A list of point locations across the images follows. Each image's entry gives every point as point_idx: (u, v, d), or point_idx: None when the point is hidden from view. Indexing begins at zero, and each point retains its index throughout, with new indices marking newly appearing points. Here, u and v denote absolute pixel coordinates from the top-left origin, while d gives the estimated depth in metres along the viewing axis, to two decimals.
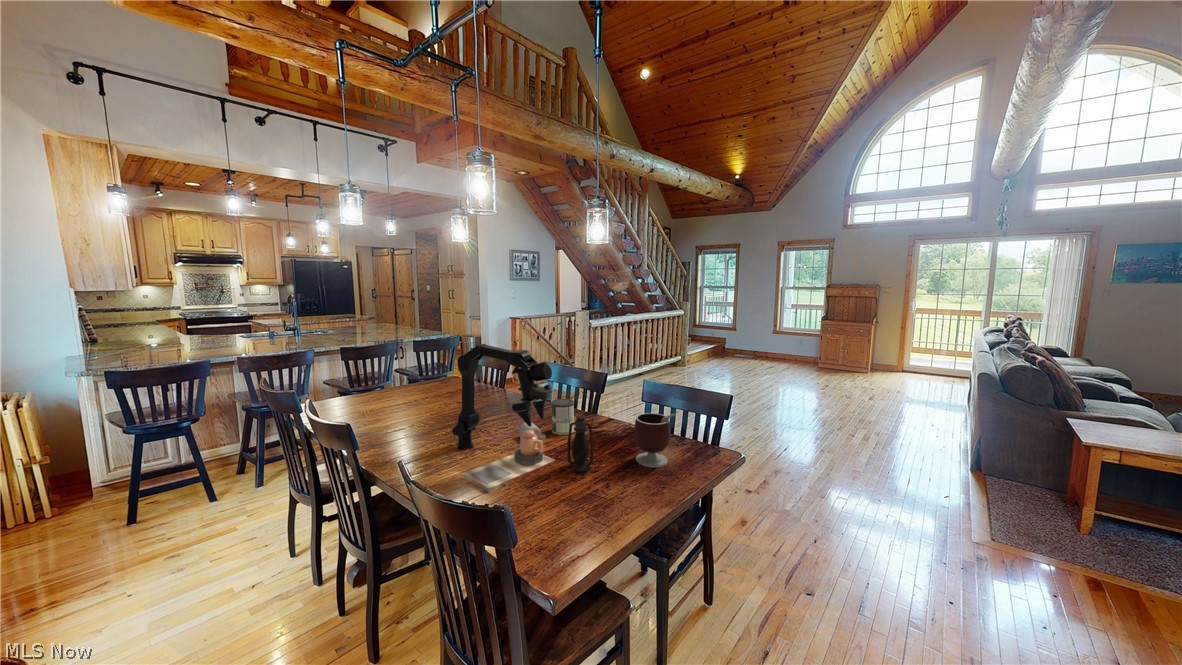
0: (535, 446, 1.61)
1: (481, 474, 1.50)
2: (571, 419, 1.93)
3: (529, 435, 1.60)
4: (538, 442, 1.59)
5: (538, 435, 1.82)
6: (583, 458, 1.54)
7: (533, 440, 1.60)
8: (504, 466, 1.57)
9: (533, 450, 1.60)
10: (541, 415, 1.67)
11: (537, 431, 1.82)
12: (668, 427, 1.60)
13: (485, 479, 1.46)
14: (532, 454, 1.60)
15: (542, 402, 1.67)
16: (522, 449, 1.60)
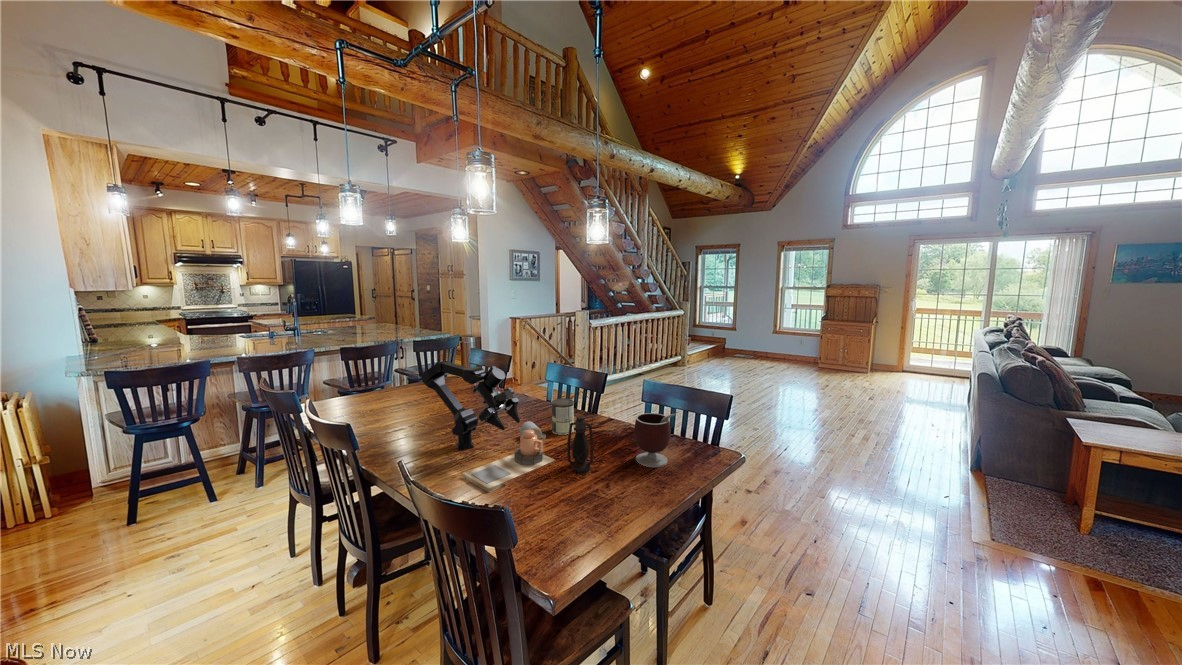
0: (535, 446, 1.61)
1: (481, 474, 1.50)
2: (571, 419, 1.93)
3: (529, 435, 1.60)
4: (538, 442, 1.59)
5: (539, 435, 1.82)
6: (583, 458, 1.54)
7: (533, 440, 1.60)
8: (504, 466, 1.57)
9: (533, 450, 1.60)
10: (517, 419, 1.69)
11: (538, 431, 1.82)
12: (668, 427, 1.60)
13: (485, 479, 1.46)
14: (532, 454, 1.60)
15: (513, 407, 1.70)
16: (522, 449, 1.60)
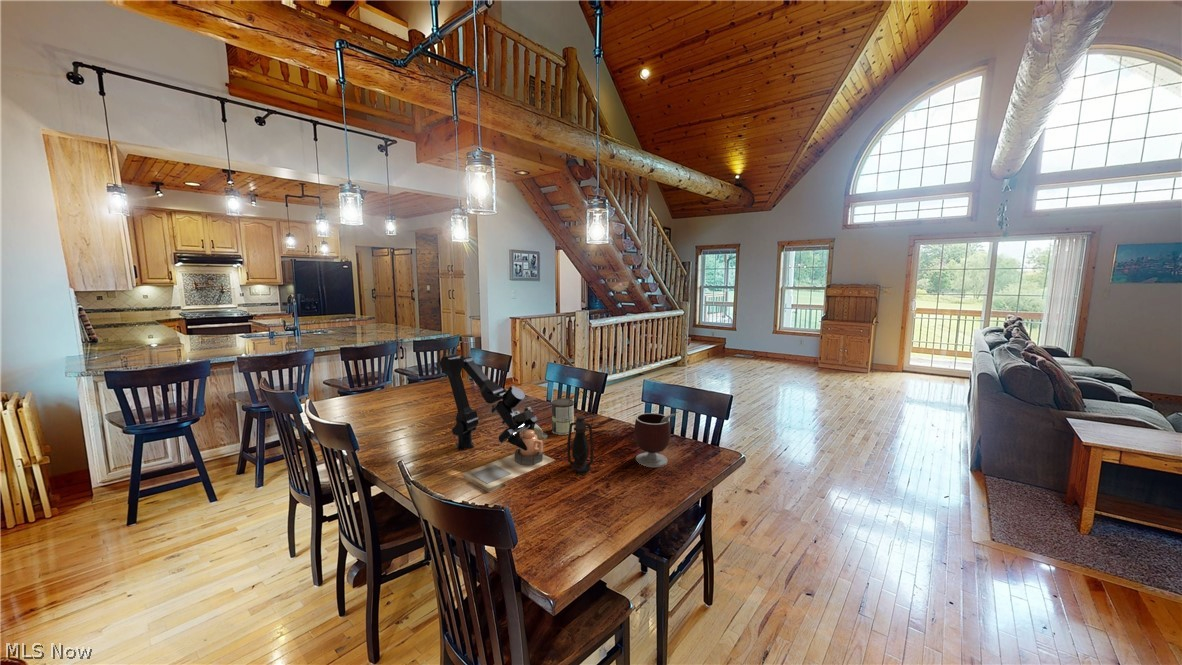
0: (535, 446, 1.61)
1: (481, 474, 1.50)
2: (571, 419, 1.93)
3: (529, 435, 1.60)
4: (538, 442, 1.59)
5: (540, 435, 1.83)
6: (583, 458, 1.54)
7: (533, 440, 1.60)
8: (504, 466, 1.57)
9: (533, 450, 1.60)
10: None
11: (539, 431, 1.82)
12: (668, 427, 1.60)
13: (485, 479, 1.46)
14: (532, 454, 1.60)
15: (530, 428, 1.66)
16: (522, 449, 1.60)
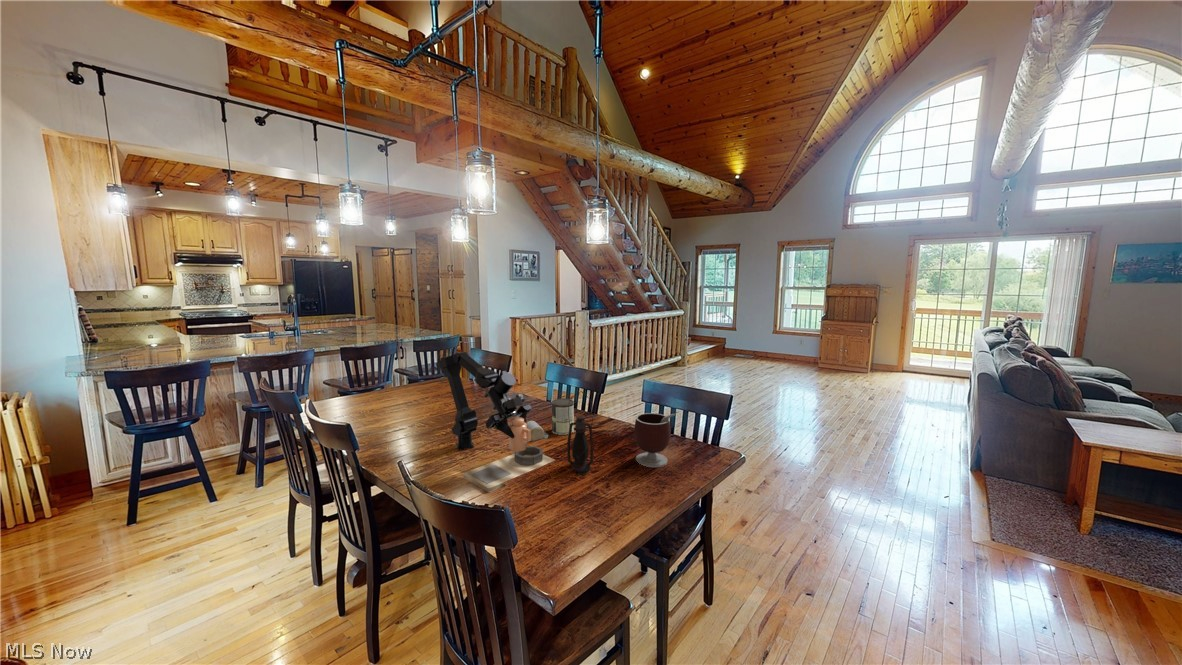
0: (523, 435, 1.55)
1: (481, 474, 1.50)
2: (571, 419, 1.93)
3: (517, 423, 1.54)
4: (526, 431, 1.53)
5: (541, 434, 1.83)
6: (583, 458, 1.54)
7: (521, 428, 1.54)
8: (504, 466, 1.57)
9: (521, 439, 1.54)
10: None
11: (540, 430, 1.82)
12: (668, 427, 1.60)
13: (485, 479, 1.46)
14: (520, 443, 1.54)
15: (521, 416, 1.60)
16: None
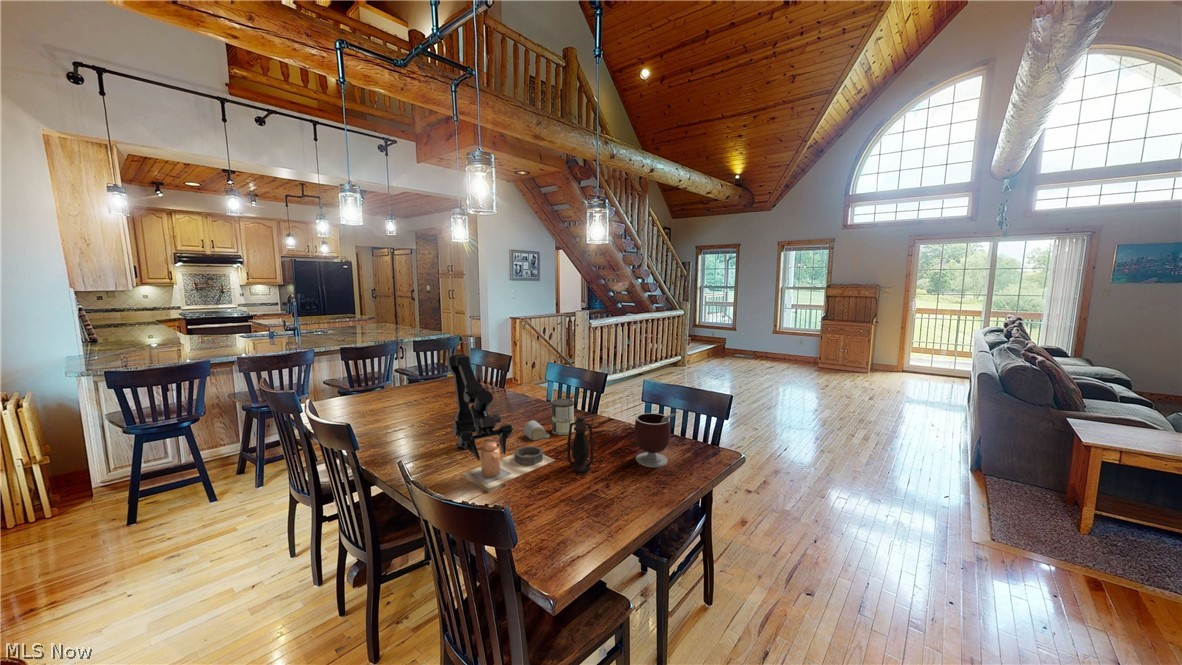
0: (493, 461, 1.47)
1: (481, 474, 1.50)
2: (571, 419, 1.93)
3: (487, 448, 1.47)
4: (493, 457, 1.45)
5: (542, 434, 1.83)
6: (583, 458, 1.54)
7: (490, 454, 1.46)
8: (504, 466, 1.57)
9: (490, 465, 1.47)
10: (503, 450, 1.51)
11: (541, 430, 1.83)
12: (668, 427, 1.60)
13: (485, 479, 1.46)
14: (489, 469, 1.47)
15: (502, 435, 1.53)
16: (481, 461, 1.49)
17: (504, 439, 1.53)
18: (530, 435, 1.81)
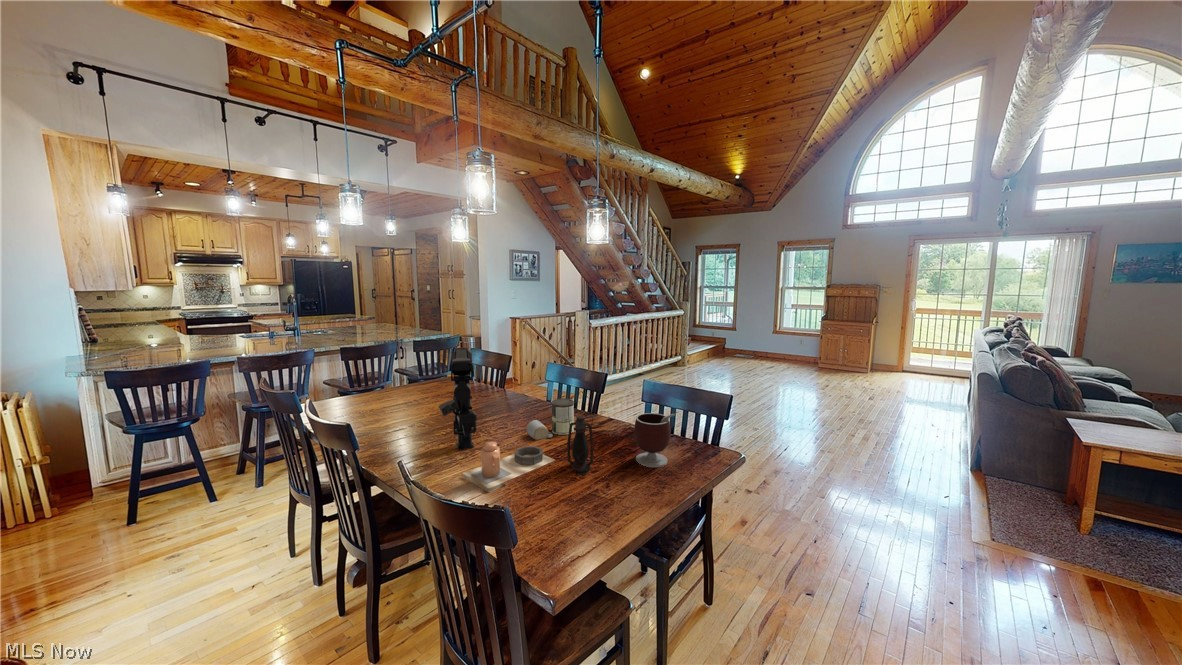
0: (493, 461, 1.47)
1: (481, 474, 1.50)
2: (571, 419, 1.93)
3: (487, 448, 1.47)
4: (494, 458, 1.45)
5: (545, 433, 1.84)
6: (583, 458, 1.54)
7: (490, 454, 1.46)
8: (504, 466, 1.57)
9: (490, 465, 1.47)
10: None
11: (544, 429, 1.83)
12: (668, 427, 1.60)
13: (485, 479, 1.46)
14: (489, 469, 1.47)
15: None
16: (481, 461, 1.48)
17: (462, 425, 1.55)
18: (533, 434, 1.82)
